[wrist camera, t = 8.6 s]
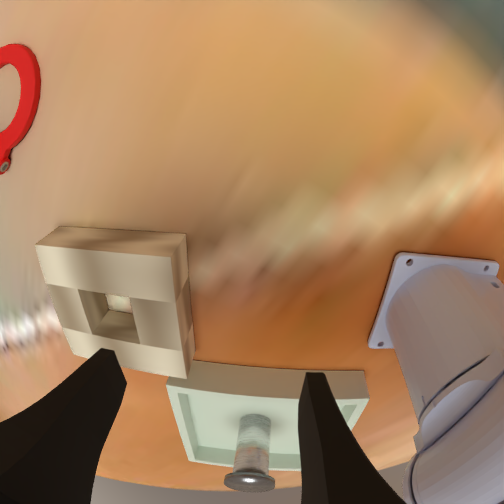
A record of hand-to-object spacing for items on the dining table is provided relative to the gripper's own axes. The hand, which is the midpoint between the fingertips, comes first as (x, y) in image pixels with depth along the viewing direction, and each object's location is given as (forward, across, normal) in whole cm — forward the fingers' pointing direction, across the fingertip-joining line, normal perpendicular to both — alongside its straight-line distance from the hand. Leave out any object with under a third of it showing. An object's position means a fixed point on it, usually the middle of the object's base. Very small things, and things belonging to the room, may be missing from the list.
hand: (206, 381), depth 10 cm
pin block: (+10, +8, +3) cm, 13 cm away
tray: (+9, -3, +18) cm, 20 cm away
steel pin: (+8, -2, +17) cm, 19 cm away
